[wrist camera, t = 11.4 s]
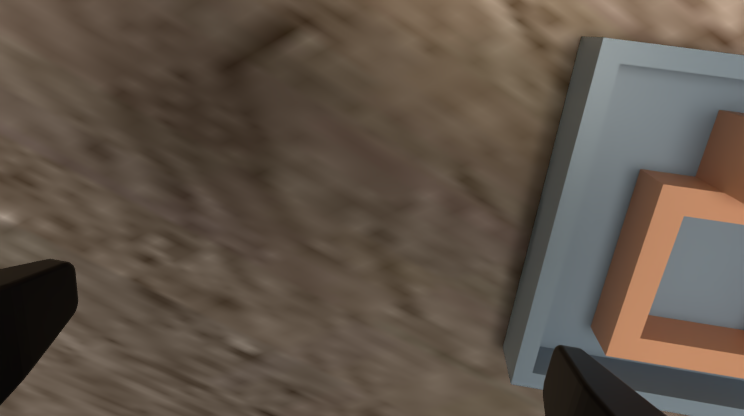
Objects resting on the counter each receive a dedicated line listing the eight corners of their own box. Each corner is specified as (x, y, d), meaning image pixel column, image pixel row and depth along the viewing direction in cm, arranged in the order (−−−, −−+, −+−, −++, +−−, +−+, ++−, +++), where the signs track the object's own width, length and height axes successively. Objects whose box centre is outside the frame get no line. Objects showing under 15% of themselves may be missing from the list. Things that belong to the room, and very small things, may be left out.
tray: (812, 400, 22) (858, 444, 19) (502, 347, 23) (510, 383, 20) (979, 87, 17) (1066, 96, 15) (581, 36, 18) (603, 37, 16)
